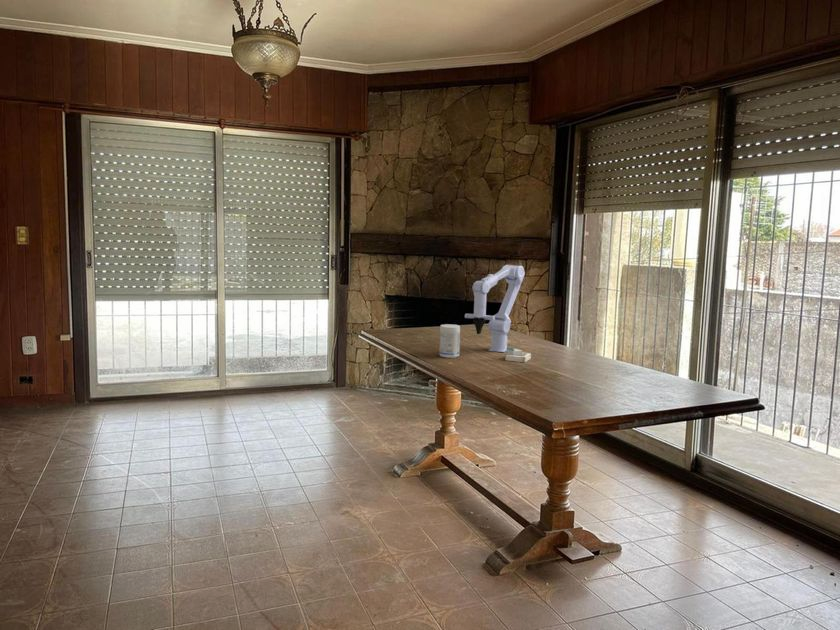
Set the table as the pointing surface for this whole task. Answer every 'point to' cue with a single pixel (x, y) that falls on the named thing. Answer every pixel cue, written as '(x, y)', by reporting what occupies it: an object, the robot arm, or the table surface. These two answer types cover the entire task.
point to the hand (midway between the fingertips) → (478, 333)
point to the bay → (519, 357)
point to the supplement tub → (449, 340)
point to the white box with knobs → (513, 352)
